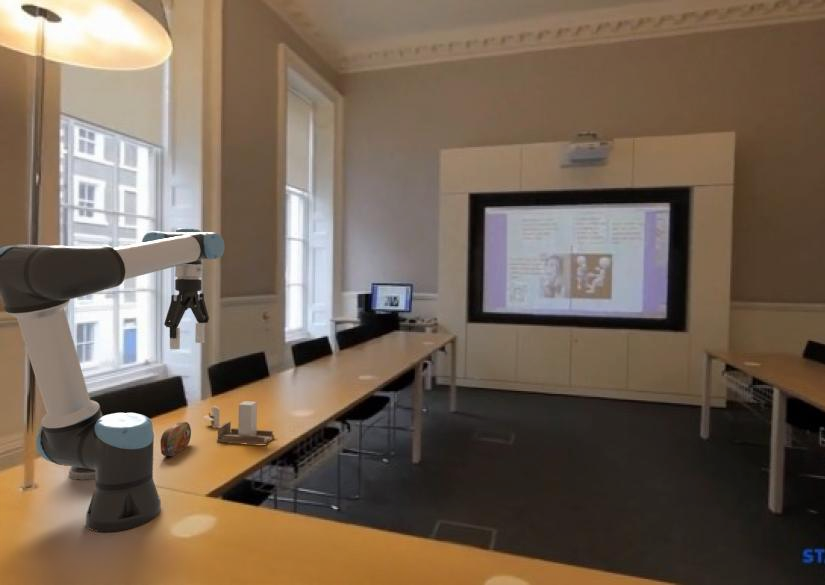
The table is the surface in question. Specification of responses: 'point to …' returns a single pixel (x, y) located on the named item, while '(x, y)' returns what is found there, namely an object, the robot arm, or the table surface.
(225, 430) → the rack
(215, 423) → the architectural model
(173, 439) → the tin
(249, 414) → the clay bar
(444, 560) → the table surface
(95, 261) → the robot arm
